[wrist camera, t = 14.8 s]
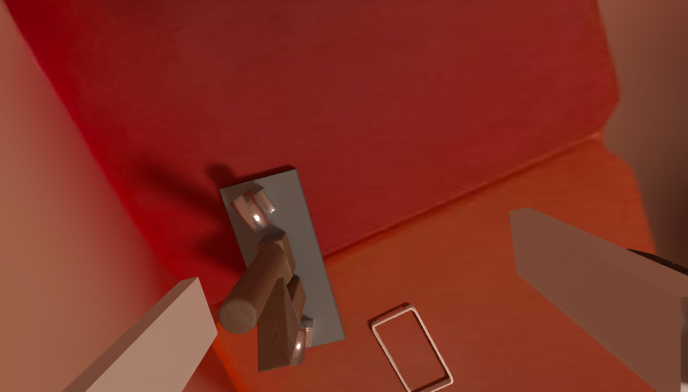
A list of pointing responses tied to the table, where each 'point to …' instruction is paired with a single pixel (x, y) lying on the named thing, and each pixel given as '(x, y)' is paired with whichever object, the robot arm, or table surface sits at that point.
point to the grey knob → (302, 341)
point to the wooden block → (268, 303)
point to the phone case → (448, 381)
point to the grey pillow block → (255, 209)
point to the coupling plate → (302, 242)
